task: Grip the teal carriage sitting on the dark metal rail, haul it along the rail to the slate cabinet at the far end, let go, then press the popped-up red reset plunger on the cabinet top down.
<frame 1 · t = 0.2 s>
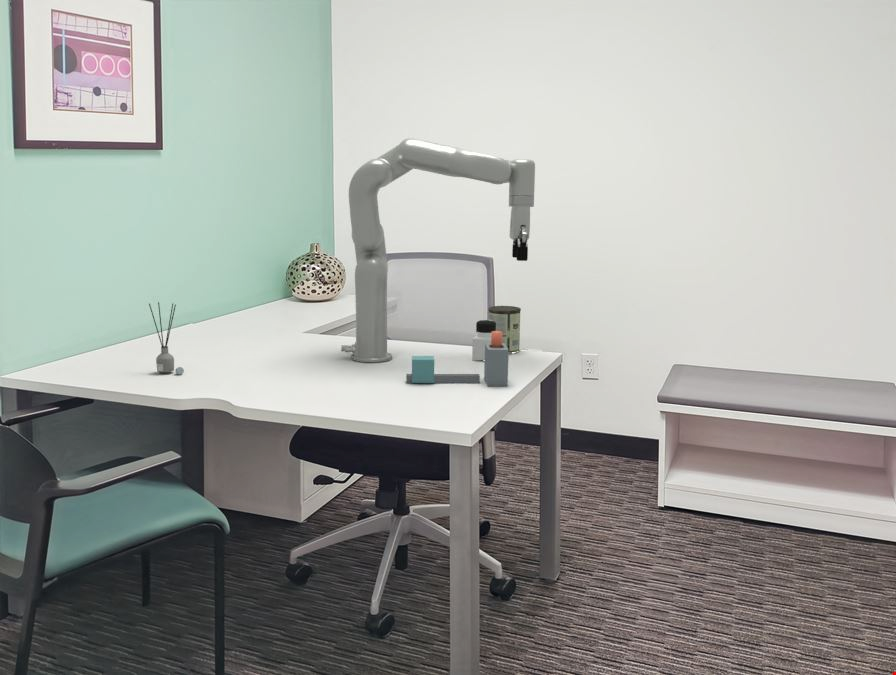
hand: (519, 258, 261), 31 cm above the table, tool pointing down, fingers open, 9 cm apart
coffee can: (503, 351, 279), on the table
rail: (442, 382, 237), on the table
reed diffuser: (169, 373, 244), on the table
medicine bottle: (485, 359, 267), on the table
carriage: (422, 369, 236), point 4 cm above the table, slide at 0.0 cm
plunger: (496, 340, 235), point 12 cm above the table, slide at 0.0 cm
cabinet: (495, 382, 238), on the table
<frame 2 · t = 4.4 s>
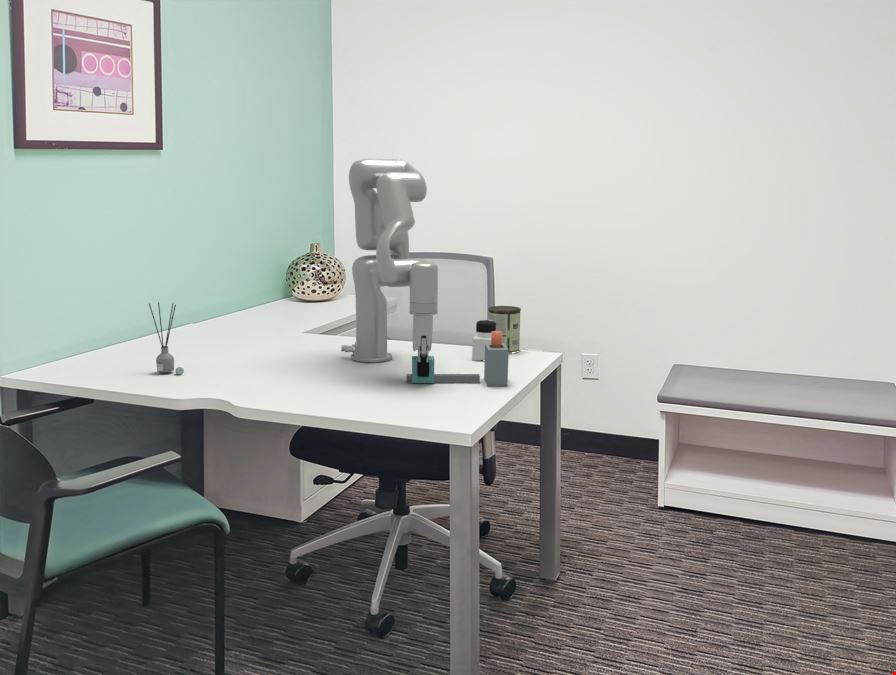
hand: (422, 373, 236), 2 cm above the table, tool pointing down, fingers closed on carriage, 5 cm apart
carriage: (422, 369, 236), point 4 cm above the table, slide at 0.0 cm, touching gripper
everything else where it was.
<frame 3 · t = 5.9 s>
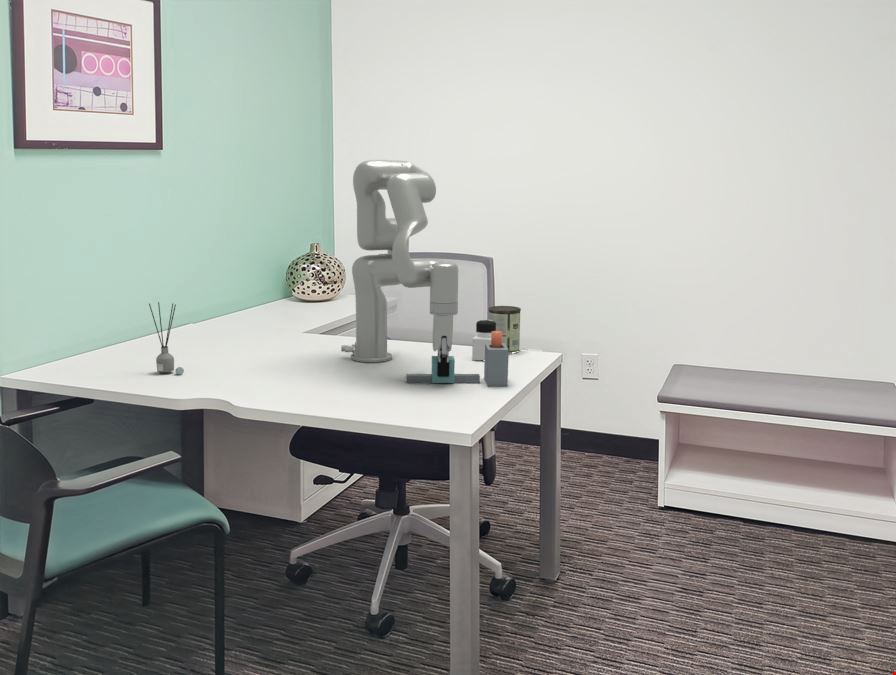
hand: (442, 373, 236), 2 cm above the table, tool pointing down, fingers closed on carriage, 5 cm apart
carriage: (442, 369, 236), point 4 cm above the table, slide at 5.5 cm, touching gripper
everything else where it was.
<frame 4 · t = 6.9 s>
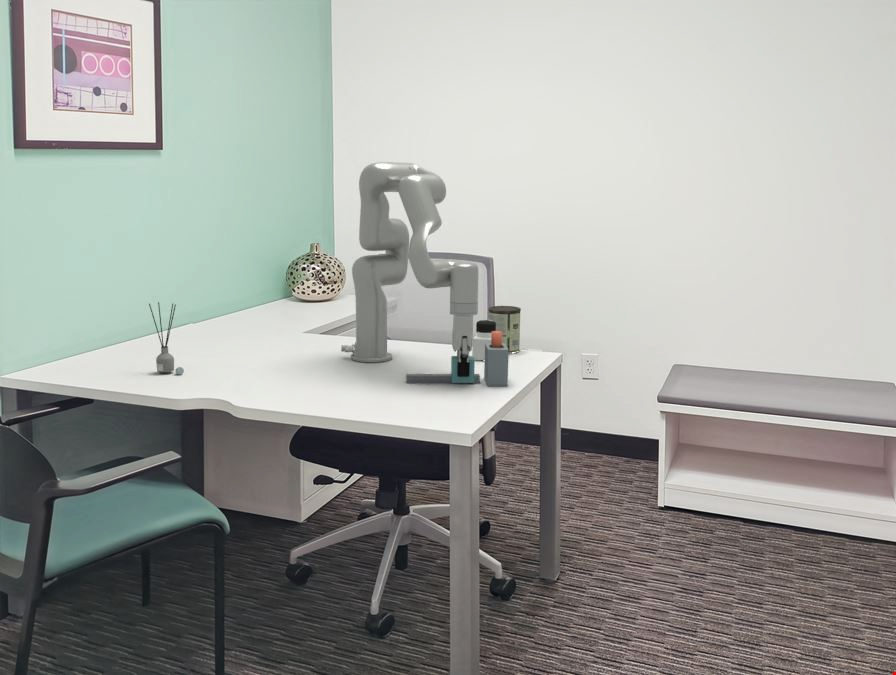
hand: (462, 373, 237), 2 cm above the table, tool pointing down, fingers closed on carriage, 5 cm apart
carriage: (462, 369, 236), point 4 cm above the table, slide at 10.9 cm, touching gripper
everything else where it was.
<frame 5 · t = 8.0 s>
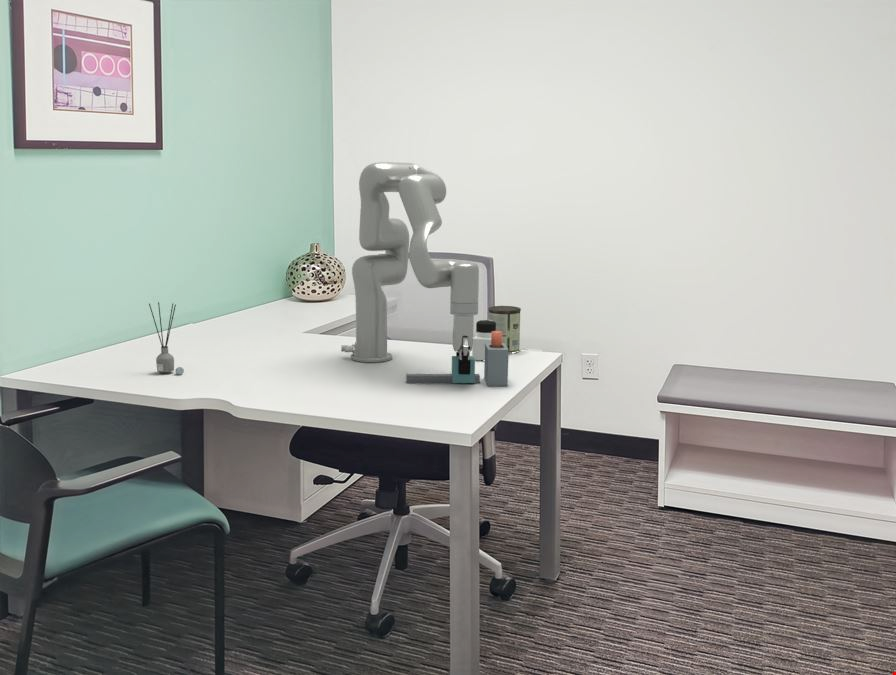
hand: (463, 370, 236), 3 cm above the table, tool pointing down, fingers open, 9 cm apart
carriage: (463, 369, 236), point 4 cm above the table, slide at 11.0 cm
everything else where it was.
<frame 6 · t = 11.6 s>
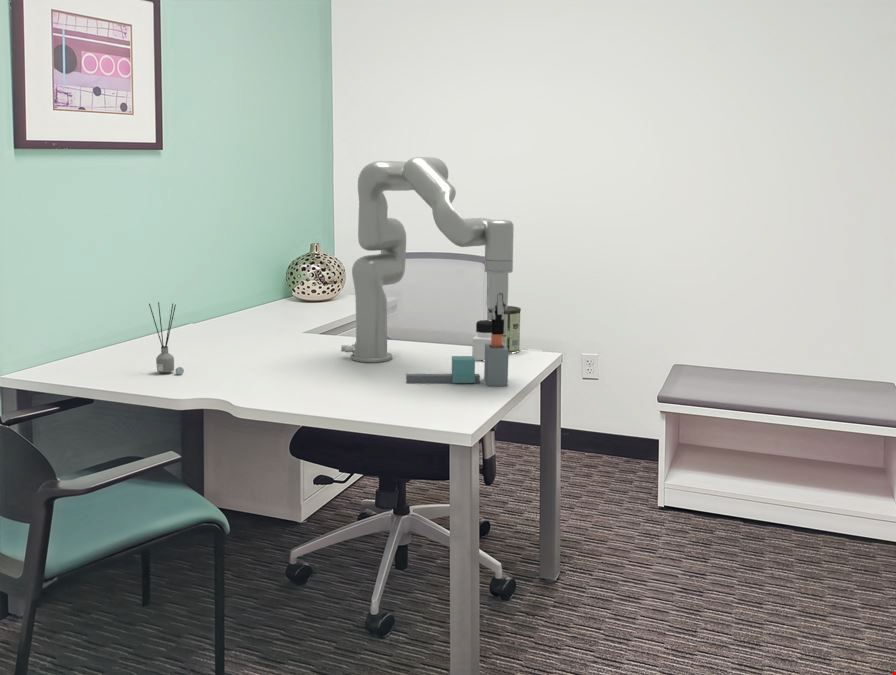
hand: (497, 333, 235), 14 cm above the table, tool pointing down, fingers closed
plunger: (496, 342, 235), point 11 cm above the table, slide at 0.5 cm, touching gripper
everything else where it was.
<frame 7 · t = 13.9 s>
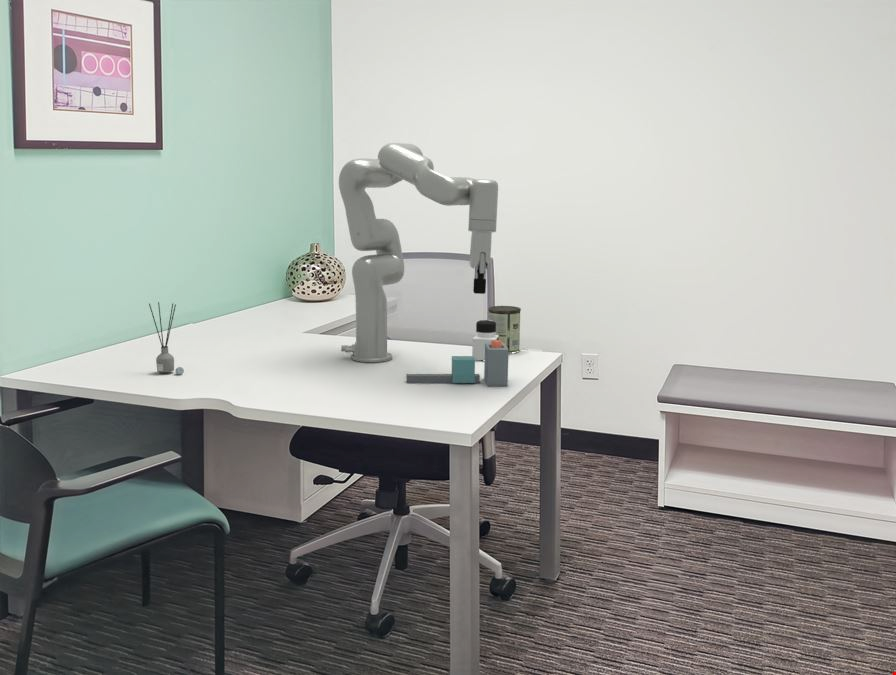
hand: (479, 293, 237), 24 cm above the table, tool pointing down, fingers closed
plunger: (496, 349, 236), point 9 cm above the table, slide at 2.5 cm
everything else where it was.
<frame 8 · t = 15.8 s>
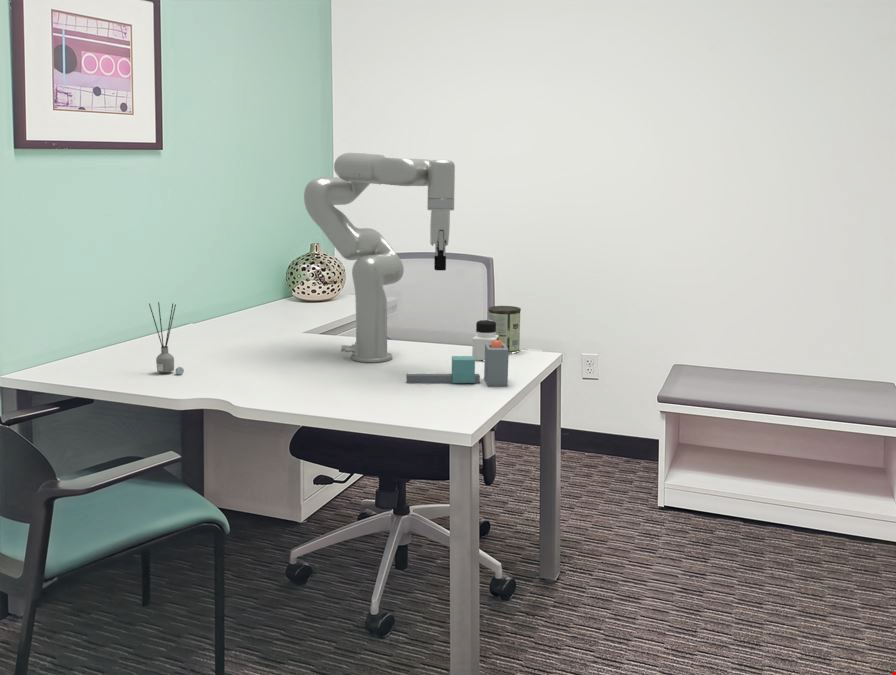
hand: (440, 269, 246), 29 cm above the table, tool pointing down, fingers closed
nothing on the table moved.
at the end: carriage slide at 11.0 cm; plunger slide at 2.5 cm; the gripper is holding nothing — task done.
